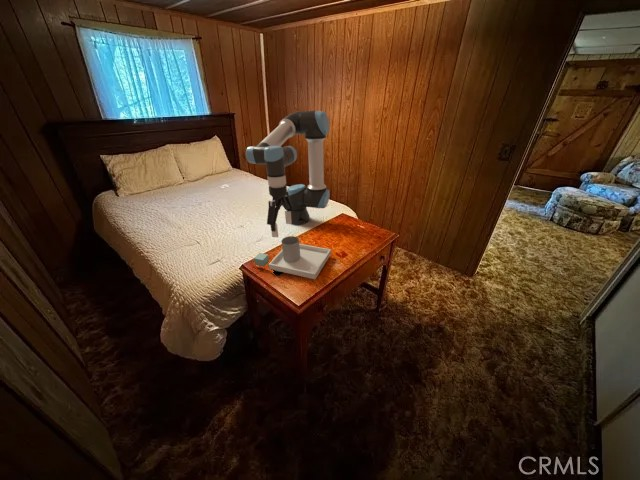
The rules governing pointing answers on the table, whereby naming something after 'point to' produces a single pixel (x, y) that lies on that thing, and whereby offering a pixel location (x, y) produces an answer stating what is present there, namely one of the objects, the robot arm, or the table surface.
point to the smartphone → (278, 273)
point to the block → (261, 259)
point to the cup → (291, 249)
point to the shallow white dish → (302, 262)
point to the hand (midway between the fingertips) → (282, 229)
